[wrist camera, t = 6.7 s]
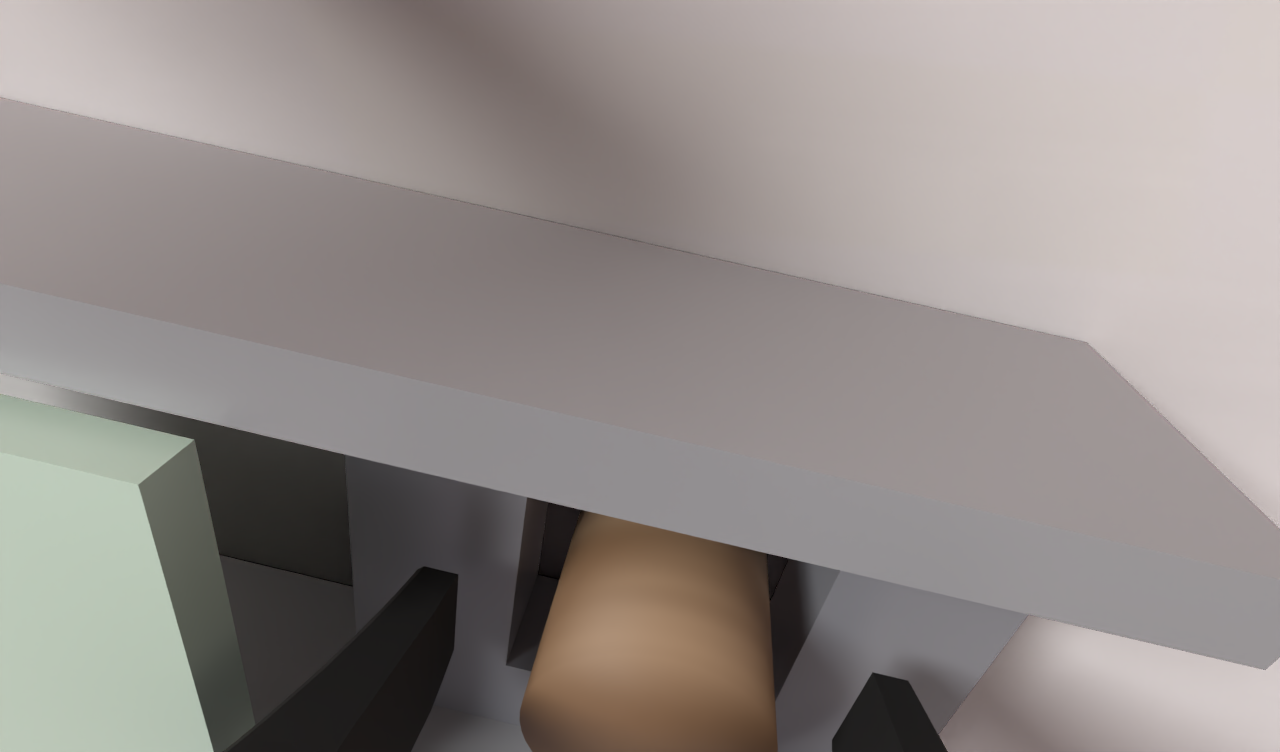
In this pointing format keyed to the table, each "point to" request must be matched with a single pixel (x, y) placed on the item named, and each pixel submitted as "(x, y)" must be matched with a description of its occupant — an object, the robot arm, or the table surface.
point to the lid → (110, 591)
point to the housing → (613, 426)
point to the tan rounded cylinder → (653, 646)
